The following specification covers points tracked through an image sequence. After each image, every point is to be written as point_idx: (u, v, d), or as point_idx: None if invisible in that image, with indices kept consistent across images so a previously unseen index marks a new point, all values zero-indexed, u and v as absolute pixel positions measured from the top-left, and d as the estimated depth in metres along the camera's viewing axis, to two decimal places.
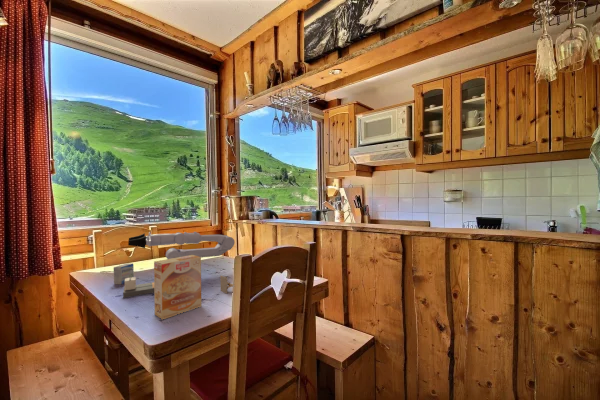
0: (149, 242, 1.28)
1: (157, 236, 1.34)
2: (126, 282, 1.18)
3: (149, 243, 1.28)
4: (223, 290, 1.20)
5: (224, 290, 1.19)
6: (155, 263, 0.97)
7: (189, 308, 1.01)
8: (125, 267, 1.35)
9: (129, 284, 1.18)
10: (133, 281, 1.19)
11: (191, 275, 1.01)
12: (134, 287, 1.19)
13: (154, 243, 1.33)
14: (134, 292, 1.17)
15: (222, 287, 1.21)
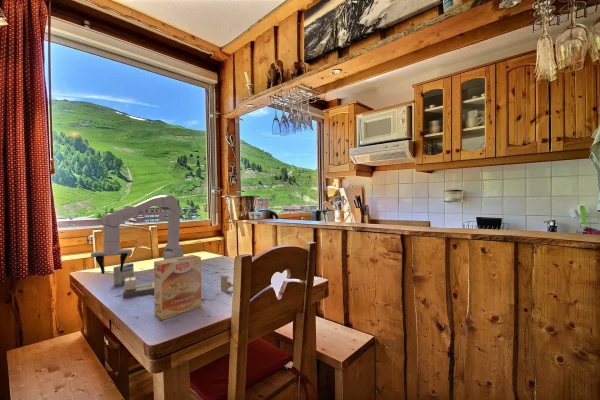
0: (131, 250, 1.20)
1: (116, 244, 1.16)
2: (126, 282, 1.18)
3: (131, 250, 1.21)
4: (223, 290, 1.20)
5: (224, 290, 1.20)
6: (155, 263, 0.97)
7: (189, 308, 1.01)
8: (125, 267, 1.35)
9: (129, 284, 1.18)
10: (133, 281, 1.19)
11: (191, 275, 1.01)
12: (134, 287, 1.19)
13: None
14: (134, 292, 1.17)
15: (222, 287, 1.21)
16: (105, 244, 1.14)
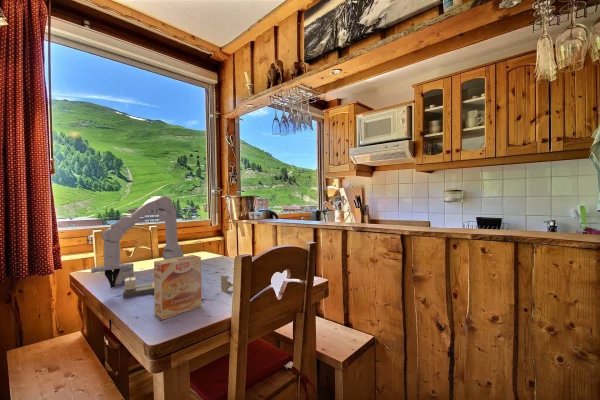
0: None
1: (117, 259, 1.16)
2: (126, 282, 1.18)
3: None
4: (223, 290, 1.20)
5: (224, 290, 1.20)
6: (155, 263, 0.97)
7: (189, 308, 1.01)
8: None
9: (129, 284, 1.18)
10: (133, 281, 1.19)
11: (191, 275, 1.01)
12: (134, 287, 1.19)
13: None
14: (134, 292, 1.17)
15: (223, 287, 1.21)
16: (105, 259, 1.14)
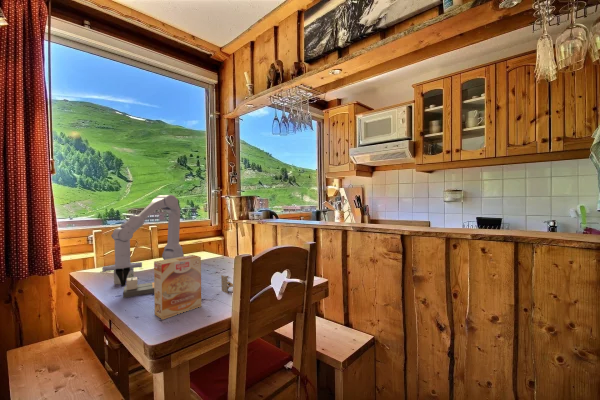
0: (141, 264, 1.22)
1: (127, 258, 1.18)
2: (128, 282, 1.18)
3: (141, 263, 1.23)
4: (224, 290, 1.21)
5: (225, 290, 1.20)
6: (155, 263, 0.97)
7: (189, 308, 1.01)
8: None
9: (131, 284, 1.18)
10: (135, 281, 1.19)
11: (191, 275, 1.01)
12: (136, 287, 1.19)
13: None
14: (134, 292, 1.17)
15: (223, 287, 1.21)
16: (116, 258, 1.16)
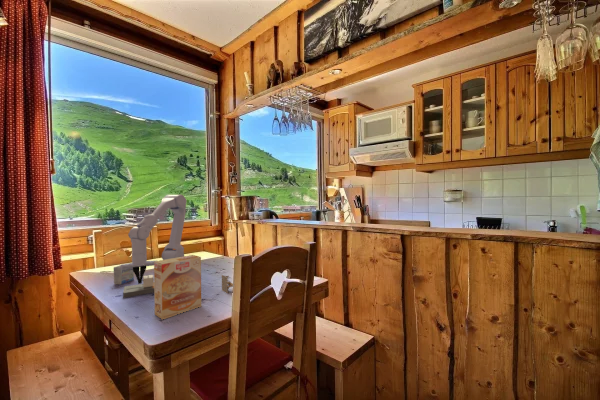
0: None
1: (144, 256, 1.21)
2: (145, 279, 1.21)
3: None
4: (224, 290, 1.21)
5: (225, 290, 1.20)
6: (155, 263, 0.97)
7: (189, 308, 1.01)
8: None
9: (147, 282, 1.22)
10: (151, 278, 1.22)
11: (191, 275, 1.01)
12: (152, 284, 1.23)
13: None
14: (134, 292, 1.17)
15: (223, 286, 1.21)
16: (133, 256, 1.19)
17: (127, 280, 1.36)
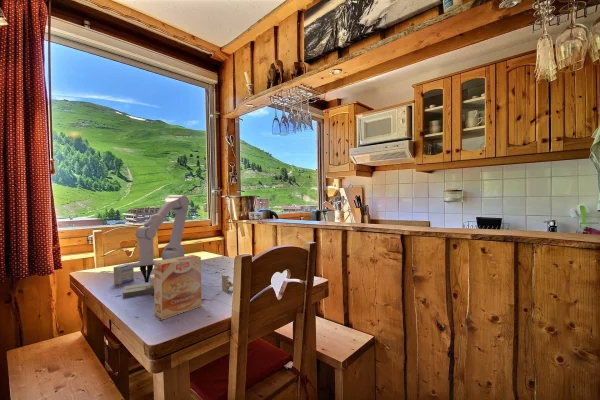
0: None
1: (151, 255, 1.23)
2: (151, 278, 1.22)
3: None
4: (224, 289, 1.21)
5: (225, 289, 1.20)
6: (155, 263, 0.97)
7: (189, 308, 1.01)
8: (125, 267, 1.35)
9: None
10: None
11: (191, 275, 1.01)
12: None
13: None
14: (134, 292, 1.17)
15: (223, 286, 1.21)
16: (141, 256, 1.21)
17: (127, 280, 1.36)
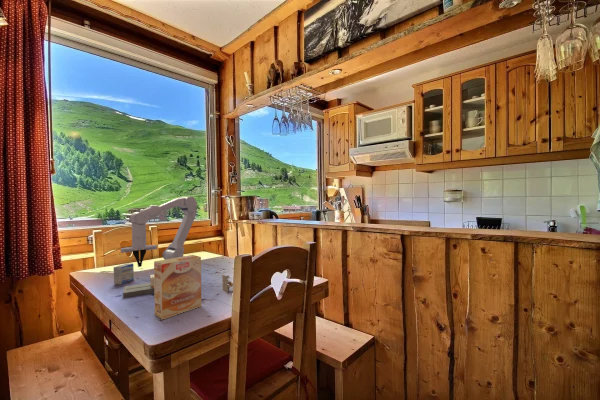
0: (156, 246, 1.30)
1: (144, 240, 1.26)
2: (152, 278, 1.22)
3: (156, 246, 1.31)
4: (224, 289, 1.21)
5: (225, 289, 1.20)
6: (155, 263, 0.97)
7: (189, 308, 1.01)
8: (125, 267, 1.35)
9: None
10: None
11: (191, 275, 1.01)
12: None
13: None
14: (134, 292, 1.17)
15: (224, 286, 1.22)
16: (134, 240, 1.24)
17: (127, 280, 1.36)
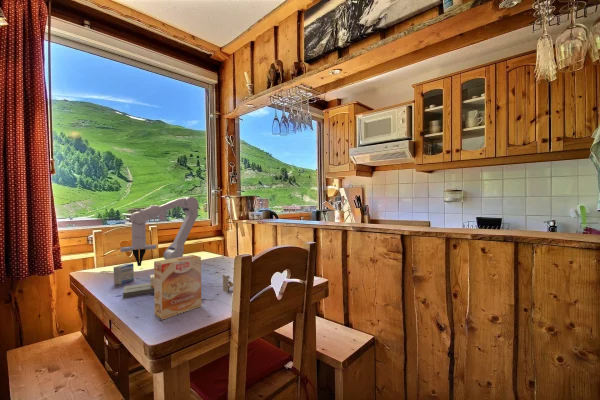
0: None
1: (143, 240, 1.27)
2: (152, 278, 1.22)
3: None
4: (225, 289, 1.21)
5: (225, 289, 1.21)
6: (155, 263, 0.97)
7: (189, 308, 1.01)
8: (125, 267, 1.35)
9: None
10: None
11: (191, 275, 1.01)
12: None
13: None
14: (134, 292, 1.17)
15: (224, 286, 1.22)
16: (133, 240, 1.25)
17: (127, 280, 1.36)
